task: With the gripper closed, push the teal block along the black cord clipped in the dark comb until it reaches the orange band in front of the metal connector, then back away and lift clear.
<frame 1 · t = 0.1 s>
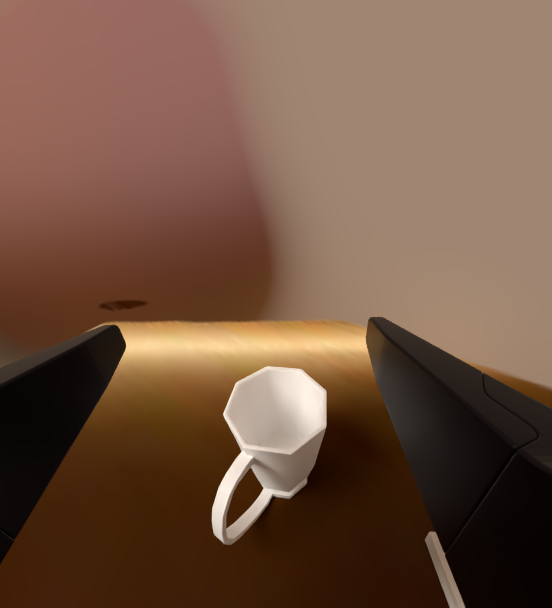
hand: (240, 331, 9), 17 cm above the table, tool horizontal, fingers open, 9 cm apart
cup: (272, 487, 19), on the table
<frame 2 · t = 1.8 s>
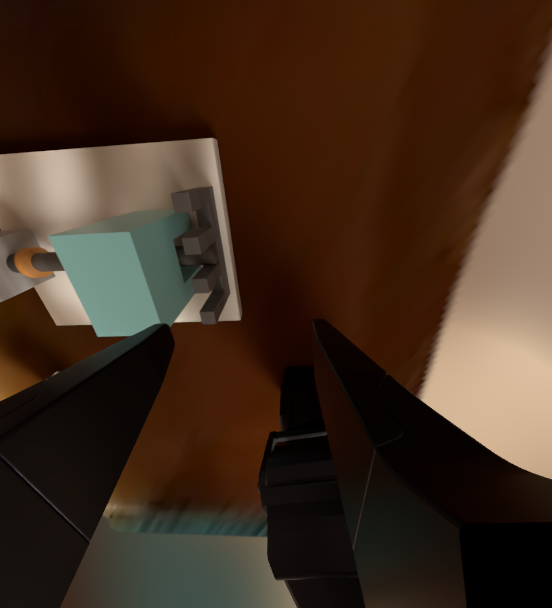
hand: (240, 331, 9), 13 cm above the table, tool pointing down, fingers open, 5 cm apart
cord board: (127, 246, 21), on the table
teal block: (147, 265, 16), point 5 cm above the table, slide at 0.0 cm
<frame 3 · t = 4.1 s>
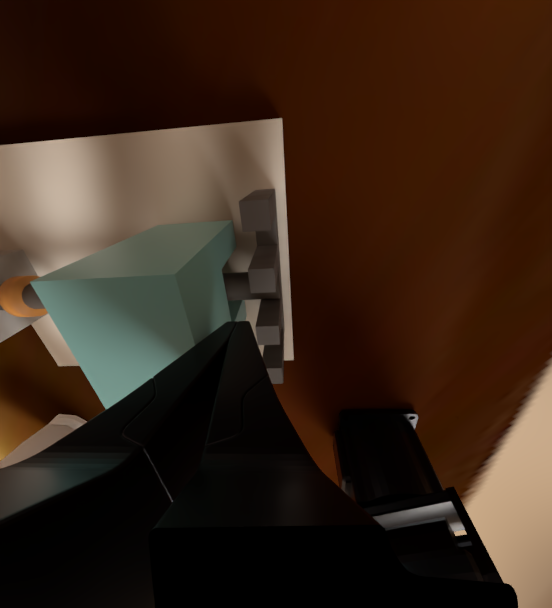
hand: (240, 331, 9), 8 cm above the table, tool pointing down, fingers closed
cord board: (150, 268, 16), on the table
cup: (91, 430, 25), on the table
teal block: (182, 305, 11), point 5 cm above the table, slide at 0.3 cm, touching gripper
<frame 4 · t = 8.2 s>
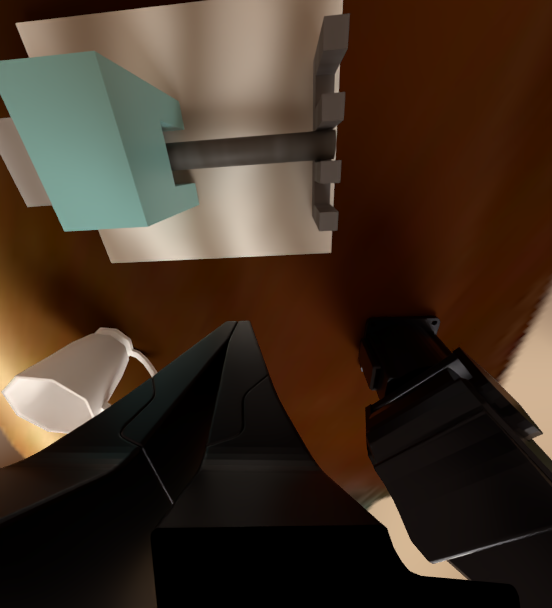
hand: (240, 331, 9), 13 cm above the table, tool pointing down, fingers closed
cord board: (204, 157, 18), on the table
cup: (128, 347, 27), on the table
teal block: (129, 158, 13), point 5 cm above the table, slide at 7.0 cm
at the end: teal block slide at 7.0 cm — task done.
